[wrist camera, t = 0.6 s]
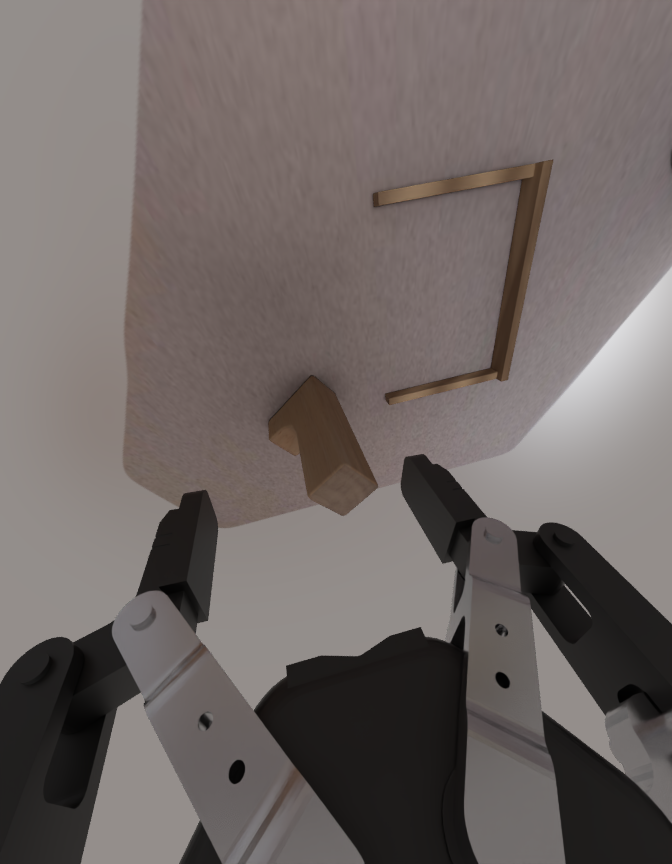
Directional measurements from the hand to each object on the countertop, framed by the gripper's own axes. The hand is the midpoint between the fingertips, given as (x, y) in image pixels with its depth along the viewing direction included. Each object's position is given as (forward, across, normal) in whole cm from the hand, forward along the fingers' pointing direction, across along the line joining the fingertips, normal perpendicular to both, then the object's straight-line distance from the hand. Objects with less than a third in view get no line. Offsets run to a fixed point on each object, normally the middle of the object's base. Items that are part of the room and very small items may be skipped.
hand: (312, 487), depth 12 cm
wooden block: (+26, -2, +11) cm, 28 cm away
